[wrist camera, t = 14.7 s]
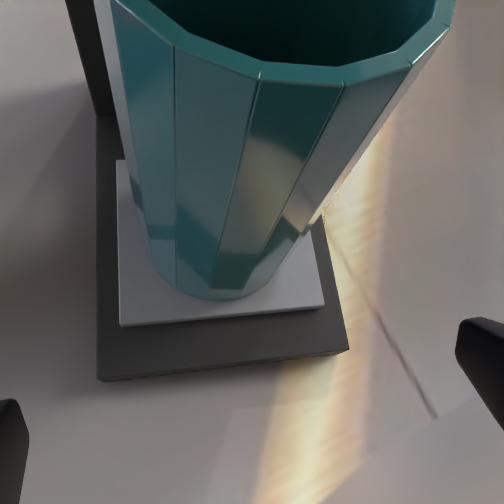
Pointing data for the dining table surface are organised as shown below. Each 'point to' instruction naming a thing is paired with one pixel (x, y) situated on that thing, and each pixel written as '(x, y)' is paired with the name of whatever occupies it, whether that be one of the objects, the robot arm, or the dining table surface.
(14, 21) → the dining table surface
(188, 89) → the cup
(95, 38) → the coffee maker
